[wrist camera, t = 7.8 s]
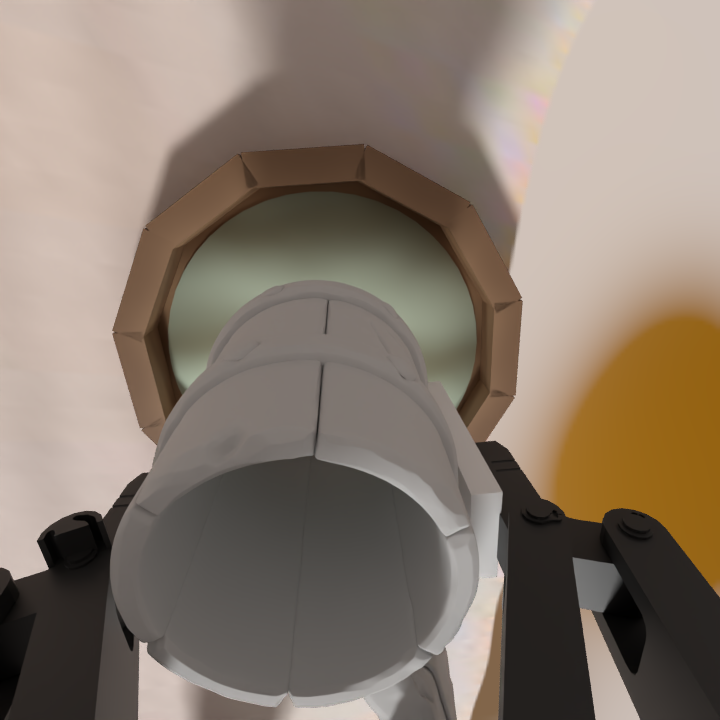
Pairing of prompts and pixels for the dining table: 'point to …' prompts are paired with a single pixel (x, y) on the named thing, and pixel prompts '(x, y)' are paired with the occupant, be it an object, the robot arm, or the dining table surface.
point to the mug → (304, 515)
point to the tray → (320, 272)
